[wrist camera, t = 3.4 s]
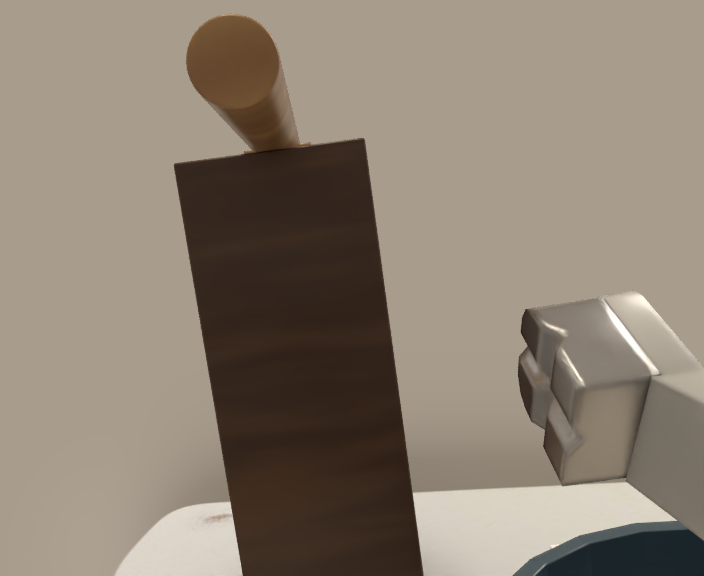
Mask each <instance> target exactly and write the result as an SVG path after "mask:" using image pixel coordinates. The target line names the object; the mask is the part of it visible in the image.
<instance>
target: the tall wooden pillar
mask: <svg viewBox="0 0 704 576" xmlns="http://www.w3.org/2000/svg"><path fill="white" fill-rule="evenodd" d="M174 170H175V175H176V181H177V187H178V193H179V199H180V205H181V211H182V217H183V223H184V229H185V235H186V241H187V246H188V253H189V258H190V264H191V270H192V276H193V282H194V288H195V294H196V300H197V306H198V312H199V318H200V324H201V329H202V336H203V342H204V347H205V353H206V359H207V365H208V371H209V377H210V383H211V389H212V395H213V401H214V407H215V412H216V418H217V424H218V431H219V436H220V442H221V448H222V454H223V460H224V466H225V472H226V477H227V483H228V490H229V496H230V502H231V508H232V514H233V520H234V525H235V531H236V537H237V543H238V549H239V555H240V561H241V567H242V573H243V576H424V575H423V567H422V560H421V552H420V545H419V538H418V530H417V523H416V515H415V508H414V501H413V493H412V486H411V479H410V471H409V464H408V456H407V449H406V442H405V434H404V426H403V419H402V413H401V404H400V397H399V390H398V383H397V375H396V367H395V360H394V352H393V345H392V338H391V330H390V324H389V315H388V308H387V301H386V293H385V286H384V279H383V272H382V264H381V257H380V249H379V241H378V234H377V227H376V219H375V212H374V204H373V197H372V190H371V183H370V175H369V167H368V160H367V153H366V145H365V140H364V138H358V139H352V140H344V141H337V142H329V143H322V144H315V145H307V146H300V147H292V148H285V149H278V150H270V151H263V152H256V153H248V154H241V155H234V156H227V157H220V158H212V159H204V160H198V161H190V162H182V163H176V164H174Z"/></svg>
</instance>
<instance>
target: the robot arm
mask: <svg viewBox="0 0 704 576" xmlns="http://www.w3.org/2000/svg"><path fill="white" fill-rule="evenodd" d="M521 334H522V336H523V338H524V340H525V342H526V343H527V345H528V347H527V348H526V349H525V350H524V351H523V353H522V354H521V355H520V356H519V364H518V365H519V366H518V378H519V385H520V392H521V396H522V399H523V402H524V406H525V408H526V411H527V413H528V415H529V417H530V420H531V422H533V423H535V424H536V425H538V426H539V427H541V428H543V429H544V430H545V436H544V445H543V447H544V449H545V451H546V453H547V455H548V457H549V459H550V462H551V464H552V466H553V468H554V470H555V472H556V474H557V476H558V478H559V480H560V482H561V484H562V486H569V485H576V484H583V483H591V482H598V481H605V480H612V479H620V478H626V482H628V483H629V484H630V485H632V486H633V487H634V488H636V489H637V490H638V491H639V492H641V493H642V494H643V495H645V496H646V497H647V498H649V499H650V500H651V501H653V502H654V503H655V504H656V505H658V506H659V507H660V508H662V509H663V510H664V511H666V512H667V513H668V514H670V515H671V516H672V517H673V518H675V519H676V520H677V521H679V522H680V523H681V524H683V525H684V526H685V527H687V528H688V529H689V530H690V531H692V532H693V533H694V534H696V535H697V536H698V537H700V538H701V539H702V540H704V367H703V366H702V364H701V363H700V362H699V361H698V360H697V359H696V357H695V356H694V355H693V354H692V353H691V352H690V350H689V349H688V348H687V347H686V346H685V345H684V343H683V342H682V341H681V340H680V339H679V338H678V336H677V335H676V334H675V333H674V332H673V331H672V330H671V328H670V327H669V326H668V325H667V324H666V323H665V321H664V320H663V319H662V318H661V317H660V316H659V314H658V313H657V312H656V311H655V310H654V309H653V307H652V306H651V305H650V304H649V303H648V302H647V301H646V299H645V298H644V297H643V296H642V295H641V294H639V293H637V292H635V291H630V292H624V293H618V294H612V295H607V296H601V297H598V298H596V299H588V300H581V301H575V302H569V303H562V304H556V305H549V306H543V307H537V308H531V309H526V310H525V312H524V315H523V317H522V325H521Z"/></svg>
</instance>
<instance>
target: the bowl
mask: <svg viewBox="0 0 704 576" xmlns="http://www.w3.org/2000/svg"><path fill="white" fill-rule="evenodd" d="M513 576H704V540H702V539H701V538H700V537H698V536H697V535H696V534H694V533H693V532H692V531H690V530H689V529H688V528H687V527H685V526H684V525H683V524H681V523H680V522H679V521H668V522H649V523H635V524H629V525H625V526H620V527H616V528H611V529H607V530H602V531H598V532H593V533H589V534H585V535H580V536H578V537H575V538H573V539H571V540H569V541H567V542H565V543H563V544H561V545H559V546H556V547H554V548H552V549H550V550H548V551H546V552H544V553H542V554H540V555H537V556H535V557H533V558H532V559H530V560H529V561H528V562H527V563H526V564H525V565H523V566H522V567H521V568H520V569H519V570H518V571H517V572H516V573H515V574H514V575H513Z"/></svg>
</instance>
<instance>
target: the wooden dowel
mask: <svg viewBox="0 0 704 576" xmlns="http://www.w3.org/2000/svg"><path fill="white" fill-rule="evenodd" d="M186 59H187V60H186V62H187V63H186V64H187V71H188V75H189V77H190V80H191V82H192V84H193V86H194V87H195V89H196V90H197V91H198V93H199V94H200V95H201V96H202V97H203V98H204V99H205V100H206V101H207V102H208V103H209V105H210V106H211V107H212V108H213V109H214V110H215V111H216V112H217V113H218V114H219V115H220V116H221V117H222V118H223V119H224V121H225V122H226V123H227V124H228V125H229V126H230V127H231V128H232V129H233V130H234V131H235V132H236V133H237V134H238V135H239V136H240V138H241V139H243V141H244V142H245V143H246V144H247V145H248V146H249V147H250V148H251V149H252V150H251V151H244V154H248V153H256V152H263V151H270V150H278V149H285V148H292V147H300V146H307V145H311V143H310V142H309V143H302V144H300V141H299V137H298V133H297V129H296V124H295V120H294V116H293V111H292V107H291V103H290V99H289V95H288V90H287V86H286V82H285V78H284V74H283V69H282V65H281V61H280V56H279V52H278V48H277V46H276V43H275V41H274V39H273V37H272V36H271V34H270V33H269V32H268V31H267V29H266V28H265V27H263V26H262V25H261V24H260V23H258V22H257V21H255V20H253V19H252V18H249V17H247V16H243V15H238V14H225V15H220V16H217V17H214V18H212V19H210V20H208V21H207V22H205V23H204V24H203V25H202V26H201V27H199V29H198V30H197V31H196V32H195V34H194V35H193V37H192V39H191V41H190V43H189V46H188V50H187V57H186Z"/></svg>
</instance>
